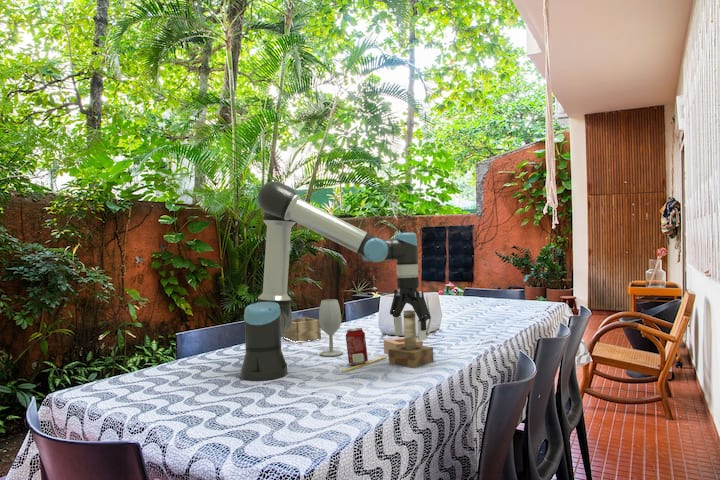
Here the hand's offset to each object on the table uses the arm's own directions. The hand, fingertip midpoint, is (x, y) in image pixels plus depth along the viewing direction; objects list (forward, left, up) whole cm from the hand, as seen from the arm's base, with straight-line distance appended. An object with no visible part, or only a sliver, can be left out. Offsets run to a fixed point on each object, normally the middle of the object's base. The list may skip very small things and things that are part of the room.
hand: (410, 337), depth 176 cm
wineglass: (-14, +31, -9) cm, 36 cm away
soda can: (-15, +10, -9) cm, 20 cm away
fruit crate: (-9, +70, -9) cm, 71 cm away
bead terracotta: (+7, +14, -9) cm, 18 cm away
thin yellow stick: (-14, +8, -9) cm, 18 cm away
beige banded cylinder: (0, 0, -9) cm, 9 cm away
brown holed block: (0, 0, -9) cm, 9 cm away
